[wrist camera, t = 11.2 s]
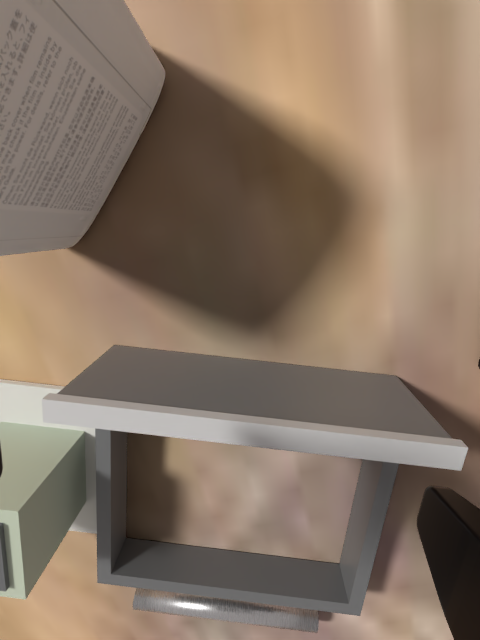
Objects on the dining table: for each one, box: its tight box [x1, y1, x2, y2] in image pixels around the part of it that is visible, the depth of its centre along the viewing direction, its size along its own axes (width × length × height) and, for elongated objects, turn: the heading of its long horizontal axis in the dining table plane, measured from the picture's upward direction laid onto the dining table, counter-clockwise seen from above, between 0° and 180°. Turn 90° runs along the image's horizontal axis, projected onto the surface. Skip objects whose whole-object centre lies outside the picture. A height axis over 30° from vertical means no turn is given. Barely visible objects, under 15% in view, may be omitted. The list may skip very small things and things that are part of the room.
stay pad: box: [0, 379, 97, 534], centre depth 22 cm, size 7×10×1 cm
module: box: [0, 422, 86, 599], centre depth 19 cm, size 5×5×6 cm
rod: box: [133, 588, 318, 633], centre depth 24 cm, size 12×1×1 cm, turn 84°
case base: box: [95, 428, 399, 616], centre depth 20 cm, size 16×13×3 cm
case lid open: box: [42, 345, 468, 471], centre depth 17 cm, size 16×2×6 cm, turn 84°
